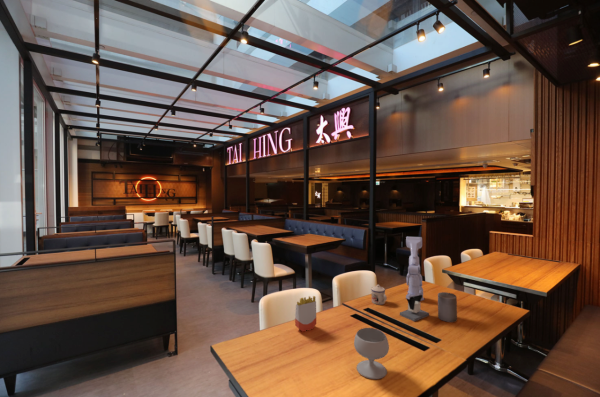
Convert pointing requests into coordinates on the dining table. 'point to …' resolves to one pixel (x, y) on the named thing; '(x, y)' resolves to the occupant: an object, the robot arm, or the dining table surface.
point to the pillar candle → (447, 307)
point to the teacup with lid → (378, 295)
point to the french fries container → (305, 314)
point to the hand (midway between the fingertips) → (414, 308)
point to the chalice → (371, 352)
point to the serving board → (414, 315)
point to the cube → (415, 307)
